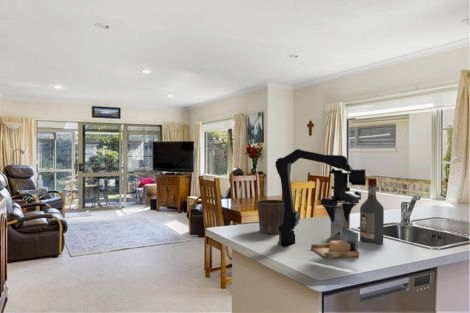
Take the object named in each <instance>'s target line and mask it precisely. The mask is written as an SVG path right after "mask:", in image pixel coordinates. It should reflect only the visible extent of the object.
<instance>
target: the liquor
mask: <svg viewBox="0 0 470 313" xmlns="http://www.w3.org/2000/svg"><path fill="white" fill-rule="evenodd" d="M367 186H368V189H367V190H368V191H367V192H368V194H367V198H366V200H365V201H364V202H363V203H362V204H360V208H359V241H360V242H362V243H366V244H367V243H368V244H372V245H374V244H375V245H383V243H384V218H385V216H384V215H385V214H384V211H385V210H384V209H385V208H384V206H383V204H382V203H381V202H379V200H378V199H377V178H372V177H371V178H369V177H368V178H367Z"/></svg>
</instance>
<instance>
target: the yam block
mask: <svg viewBox="0 0 470 313" xmlns="http://www.w3.org/2000/svg"><path fill="white" fill-rule="evenodd" d="M329 243H330V250H332V251H333V252H350V244H349V243H347V242H345V241H343V239H340V240H330V241H329Z"/></svg>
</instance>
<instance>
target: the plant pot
mask: <svg viewBox="0 0 470 313" xmlns="http://www.w3.org/2000/svg"><path fill="white" fill-rule="evenodd" d="M255 203H256V209H257V215H258V222H259V223H258V227H259V232H260V233H262V234H267V235H269V234H271V235H279V230H278V227H279V226H280V225H281V224H283V215H284V201H283V200H281V199H261V200H260V199H259V200H255Z"/></svg>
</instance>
